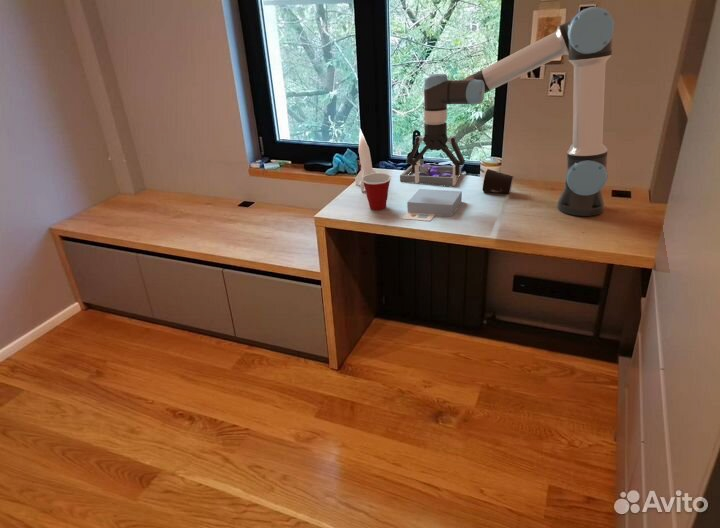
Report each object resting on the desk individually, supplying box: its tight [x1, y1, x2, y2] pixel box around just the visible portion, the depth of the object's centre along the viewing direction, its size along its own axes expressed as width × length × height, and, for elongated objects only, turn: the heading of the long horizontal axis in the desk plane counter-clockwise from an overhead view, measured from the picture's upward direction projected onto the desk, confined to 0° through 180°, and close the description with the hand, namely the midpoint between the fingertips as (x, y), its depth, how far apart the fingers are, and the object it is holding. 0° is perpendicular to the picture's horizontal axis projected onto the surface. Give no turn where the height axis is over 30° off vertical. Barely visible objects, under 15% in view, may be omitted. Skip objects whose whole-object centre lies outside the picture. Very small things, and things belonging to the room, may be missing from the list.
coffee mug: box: [482, 168, 514, 194], centre depth 202 cm, size 12×9×10 cm
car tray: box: [399, 164, 462, 187], centre depth 220 cm, size 22×17×4 cm
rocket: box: [354, 128, 377, 192], centre depth 207 cm, size 10×9×24 cm
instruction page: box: [401, 211, 436, 222], centre depth 182 cm, size 10×7×1 cm
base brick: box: [406, 188, 463, 217], centre depth 189 cm, size 16×16×4 cm
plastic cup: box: [362, 172, 392, 211], centre depth 189 cm, size 11×11×12 cm
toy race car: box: [419, 163, 453, 177], centre depth 220 cm, size 10×15×6 cm, turn 69°
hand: (435, 183), depth 186 cm, fingers open, 13 cm apart
